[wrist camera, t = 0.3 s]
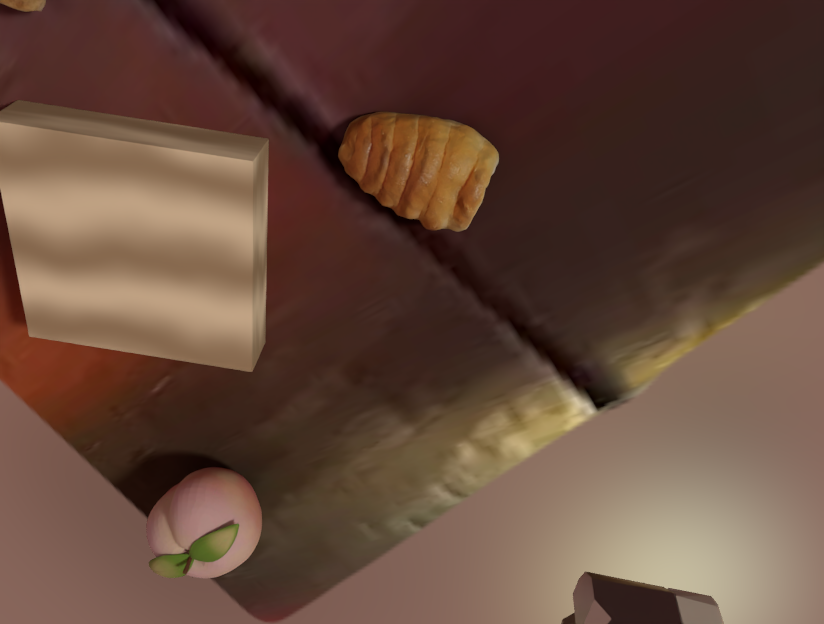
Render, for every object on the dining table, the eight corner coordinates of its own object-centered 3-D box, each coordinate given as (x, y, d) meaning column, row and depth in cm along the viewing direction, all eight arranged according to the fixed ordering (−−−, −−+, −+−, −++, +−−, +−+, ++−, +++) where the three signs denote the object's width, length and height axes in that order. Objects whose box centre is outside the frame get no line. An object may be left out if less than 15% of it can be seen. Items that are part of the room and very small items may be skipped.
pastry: (331, 179, 50) (320, 205, 47) (361, 80, 46) (350, 101, 43) (468, 226, 51) (466, 255, 48) (508, 133, 47) (508, 157, 44)
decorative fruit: (231, 526, 70) (194, 625, 61) (157, 475, 67) (108, 571, 59) (299, 479, 65) (269, 579, 57) (223, 422, 63) (180, 519, 54)
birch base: (21, 97, 49) (-14, 119, 46) (270, 136, 49) (253, 161, 46) (56, 305, 58) (29, 336, 55) (266, 338, 58) (252, 372, 55)
